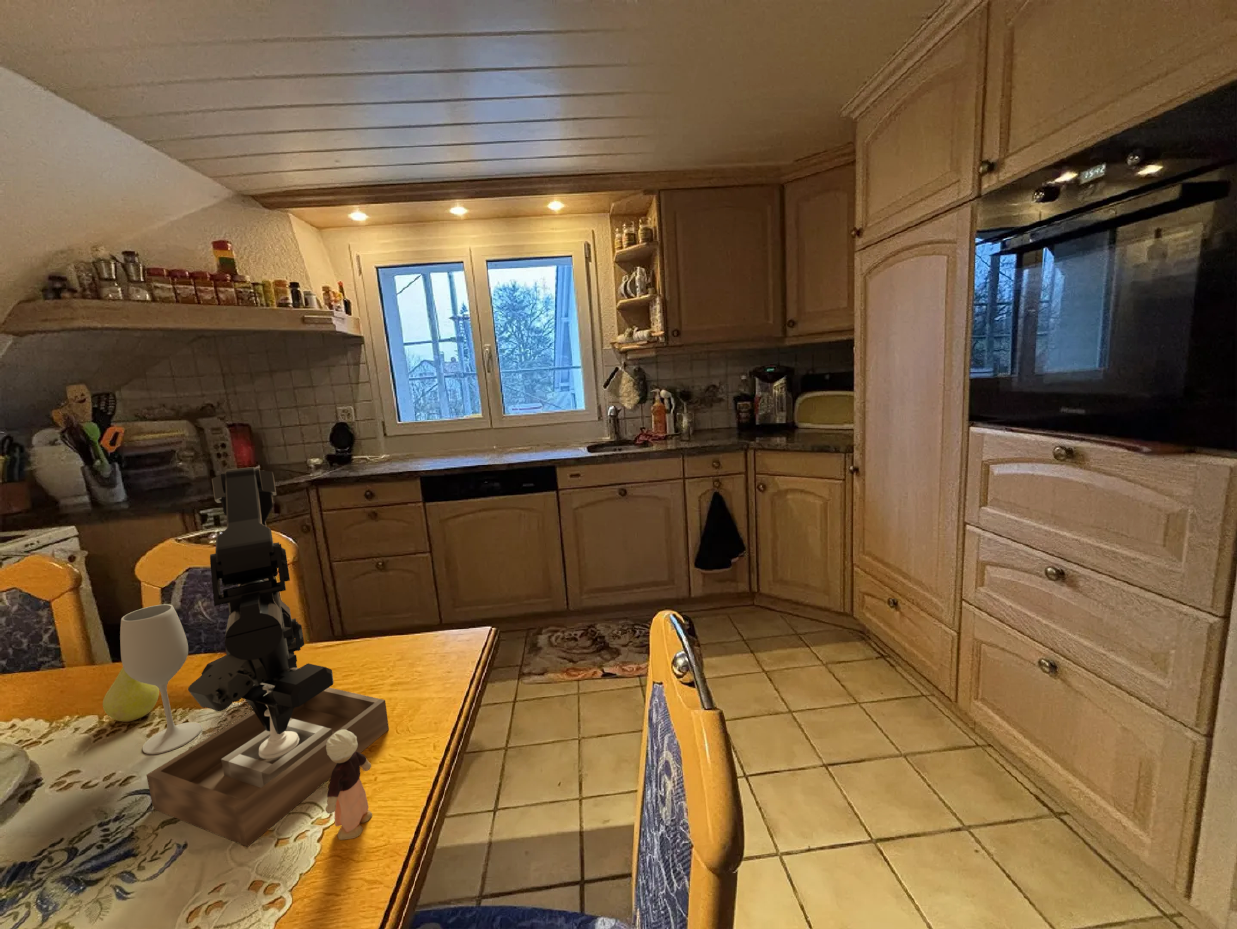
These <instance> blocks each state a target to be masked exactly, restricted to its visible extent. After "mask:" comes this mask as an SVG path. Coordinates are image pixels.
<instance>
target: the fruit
mask: <svg viewBox="0 0 1237 929" xmlns="http://www.w3.org/2000/svg"><path fill="white" fill-rule="evenodd" d="M159 697H160V690H159V688H158V687H157V686H155V685H150V684H146V683H142V682H139V681H137V680H135V679H133V678H131V677H130V676H129V675H128V674H127V673H126V672H125V670H124V667H123V666H122V668H121V670H120V671H119V673H118V675H117V676H116V678H115V679H114V681H113V683H112V684H111V686H110V688H109V689H108V690H107V692H106V694H105V695H104V697H103V699H102V700H103V701H102V708H103V711H104V712H105V714H106V715H107V716H108V717H110V719H113V720H114V721H115V720H116V721H118V722H133V721H136V720H140V719H141V718H143V717H144V716H146V715H148V714H149V713H150V712H151V711H152V710H153V708H154V707H155V706H156V704H157V702H158V699H159Z"/></svg>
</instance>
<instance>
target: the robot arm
mask: <svg viewBox="0 0 1237 929" xmlns="http://www.w3.org/2000/svg"><path fill="white" fill-rule="evenodd" d="M274 476H275V475H274V472H273V471H268V470H264V469H263V470H261V469H260V468H259V467H258V468H255V467H254V466H253V467H252V466H251V467H242V468H231V469H225V471H220V475H218V476H216V477H213V478H211V483H212V489H213V498H214V501H215V502H216V503H217V504H220V503H221V505H222V511H223V514H224V515H225V516H226V529H224V530H223V531H222V532H221V533H220V534H219V535H218V536H216V537H215V553H210V555H209V562H210V564H209V565H210V574H211V575H210V576H211V586H212V595H213V605H214V607H216V606H220V605H222V606H223V605H225V604H228V611H229V615H228V618H227V624H226V629H225V636H224V646H225V653H226V654H224V655H223V656H221V657H219V658H216V659H214V660H213V661H211V662H208V663H207V664H206V665H205V667H204V669H203V670H202V671H201V675H200V676H199V677H198V678H197V679H195V680H194V681H193V682H192V683H191V684H190V685H189V686H188V688H187V691H188V692H189V693H190V695H191V696H192V697H193V699H195V701H196V702H197V703H198V704H199V706H200V707H202V708H203V709H206V708H207V709H210V710H213V711H215V712H222V711H225V710H227V709H228V708H229V707H230V706H232V704H233V702H238V701H240V700H241V699H243V700H245V701H246V702H247V704H248V705H249V706H250V707H251V709H252V711H254V712H255V714H256V715H257V717H258V718H259V720H260V722H261V723H262V725H263V726H264V728H265V729H266V731H270V716H271V719H272V722H273V725H274V728H275V730H276V733H277V734H281V733H283V732H284V731H285V730H286V728H287V726H288V723H289V720H290V718H291V715H292V712H293V710H294V708H295V707H299V706H301V705H302V704H304V703H305V702H307V701H309V700H310V699H312V698H313V697H315V696H316V695H318V694H319V693H321V692H322V691H324V690H326V689H327V688H331V687H332V686H333V685H334V682H335V681H334V675H333V669H331V668H329V667H326V666H322V665H317V664H313V663H309V662H308V663H306V664H304V665H302V666H301V667H298V664H297V662H298V659H297V658H298V657H297V654H295V652H300V651H301V648H303V647H304V646H305V640H304V633H303V627H302V624H300V622H298V621H297V618H292V615H291V609H290V607H289V606H288V605H287V604H286V603H285V602H284V601H283V600H282V599H281V598H280V592H284V591H287V588H286V582H289V581H291V579H290V571H289V564H288V556H287V552H286V549H285V548H283V547H282V544H281V543H280V542H279V541H278V542H274V538H273V533H272V529H271V528H270V527H268V526H267V522H266V521H267V519H268V518H269V515H270V514H271V512H272V509H273V508H274V499H273V496H277V490H276V482H275V477H274ZM277 576H278V577H279V581H278V582H277V579H276V577H277ZM221 585H222V586H223V587H224V589H222V592H221ZM232 586H233V587H232ZM225 587H230V588H225ZM265 685H266V686H270V689H268V694H266V693H267V690H263V686H265ZM265 694H266V695H265ZM266 705H267V706H268V708H267V706H266ZM267 709H269V712H270V716H265V715H264V712H265V711H266V710H267Z"/></svg>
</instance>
